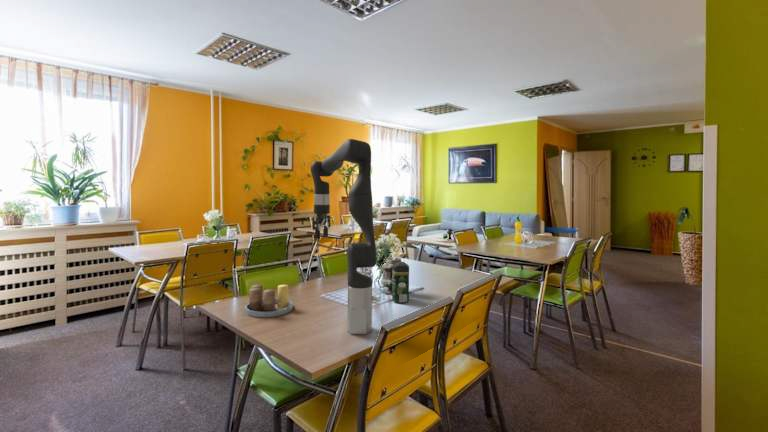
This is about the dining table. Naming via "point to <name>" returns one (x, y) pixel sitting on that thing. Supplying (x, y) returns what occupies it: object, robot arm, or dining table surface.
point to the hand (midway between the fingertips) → (321, 237)
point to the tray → (269, 313)
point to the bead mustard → (283, 296)
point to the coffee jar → (400, 282)
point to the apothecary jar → (388, 274)
